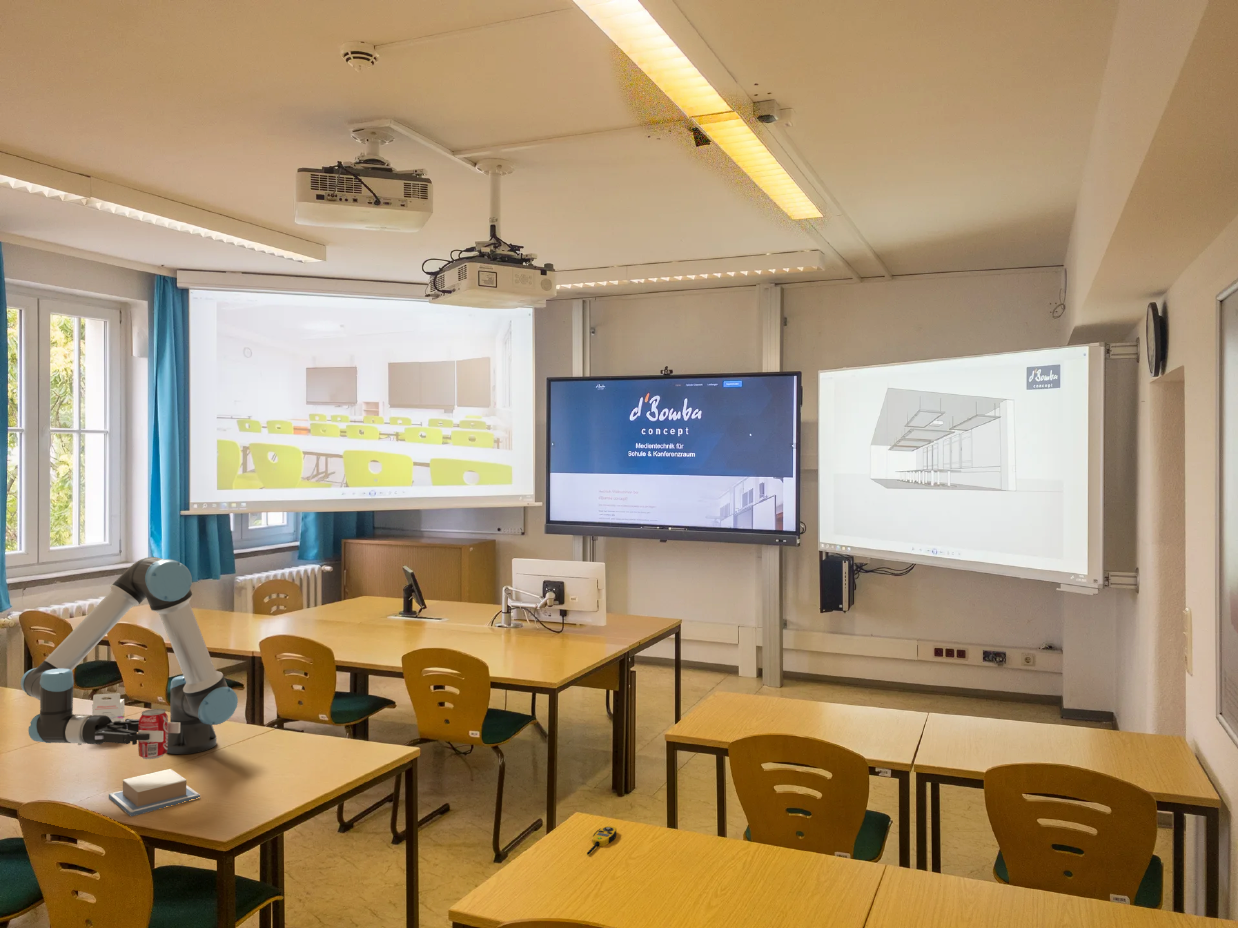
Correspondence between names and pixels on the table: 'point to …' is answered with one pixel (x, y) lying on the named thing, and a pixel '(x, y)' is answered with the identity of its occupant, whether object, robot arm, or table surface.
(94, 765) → the table surface
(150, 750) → the soda can
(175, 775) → the board
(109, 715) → the ink cartridge box
